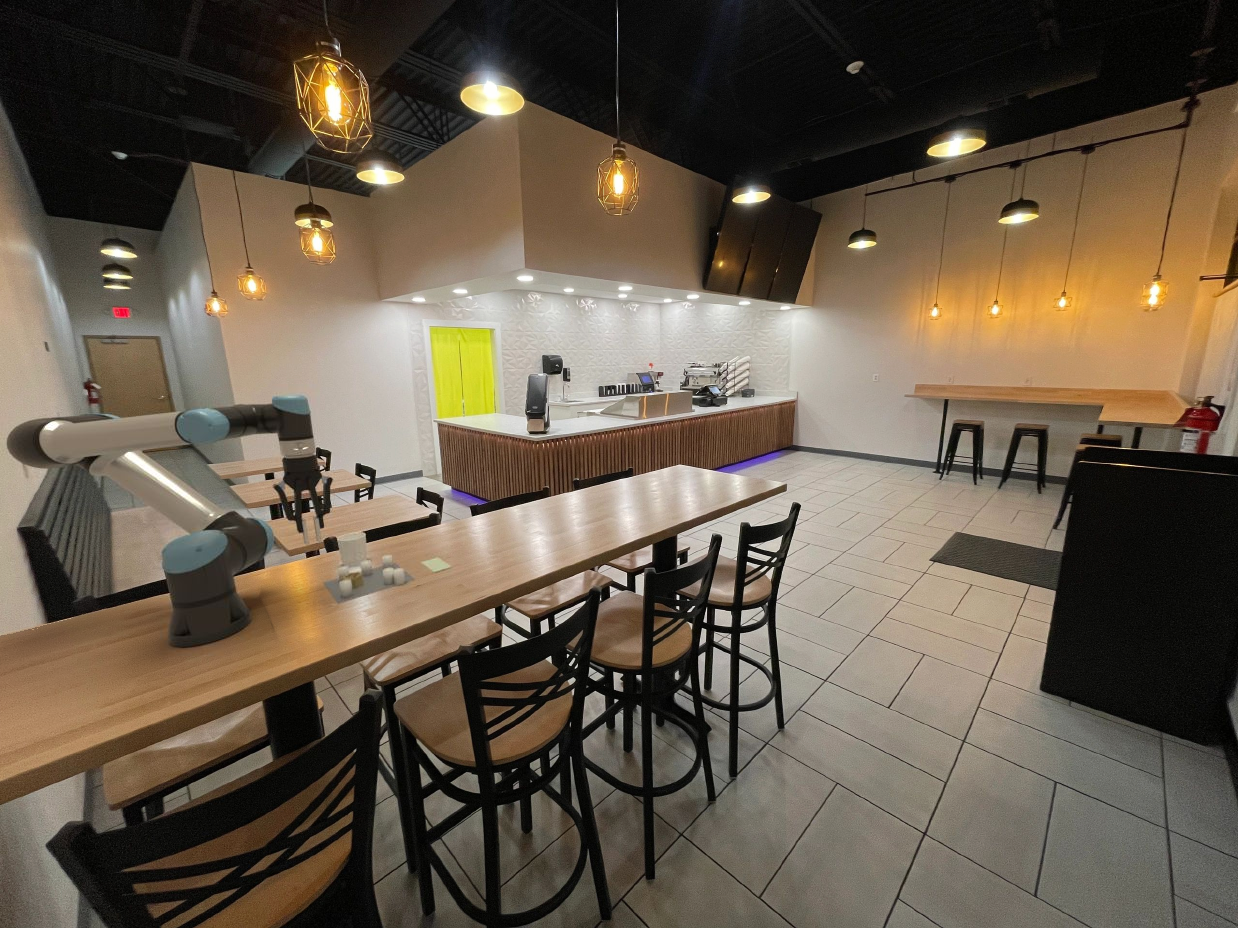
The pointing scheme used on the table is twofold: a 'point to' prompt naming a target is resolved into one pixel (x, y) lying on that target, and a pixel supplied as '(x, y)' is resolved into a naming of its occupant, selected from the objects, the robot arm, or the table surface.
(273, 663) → the table surface
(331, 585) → the spacer board
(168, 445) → the robot arm
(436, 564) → the mat
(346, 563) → the white cup
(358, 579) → the nut
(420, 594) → the table surface
